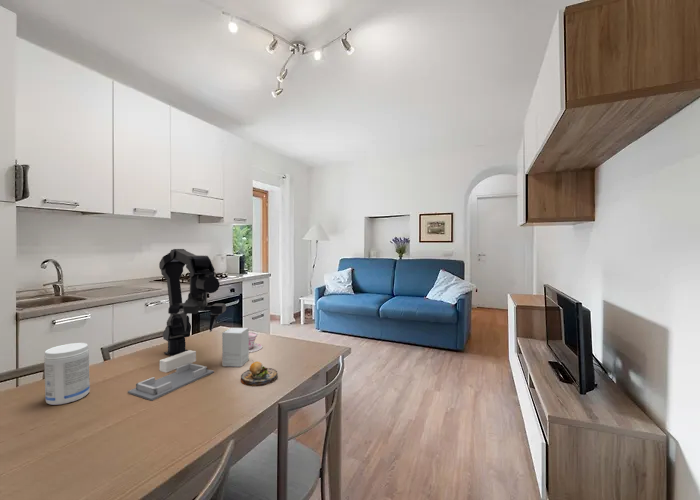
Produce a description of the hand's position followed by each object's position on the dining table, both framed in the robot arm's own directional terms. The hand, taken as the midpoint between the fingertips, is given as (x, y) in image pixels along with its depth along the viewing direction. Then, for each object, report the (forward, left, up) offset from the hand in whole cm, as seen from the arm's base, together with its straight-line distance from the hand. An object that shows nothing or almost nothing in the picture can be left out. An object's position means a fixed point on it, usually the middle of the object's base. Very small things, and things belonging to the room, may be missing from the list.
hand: (197, 331), depth 116 cm
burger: (+28, 0, -13) cm, 31 cm away
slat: (-6, -4, -13) cm, 14 cm away
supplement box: (+11, +7, -13) cm, 19 cm away
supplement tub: (-13, -34, -13) cm, 38 cm away
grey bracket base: (+5, -14, -13) cm, 19 cm away
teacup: (+4, +22, -13) cm, 26 cm away
